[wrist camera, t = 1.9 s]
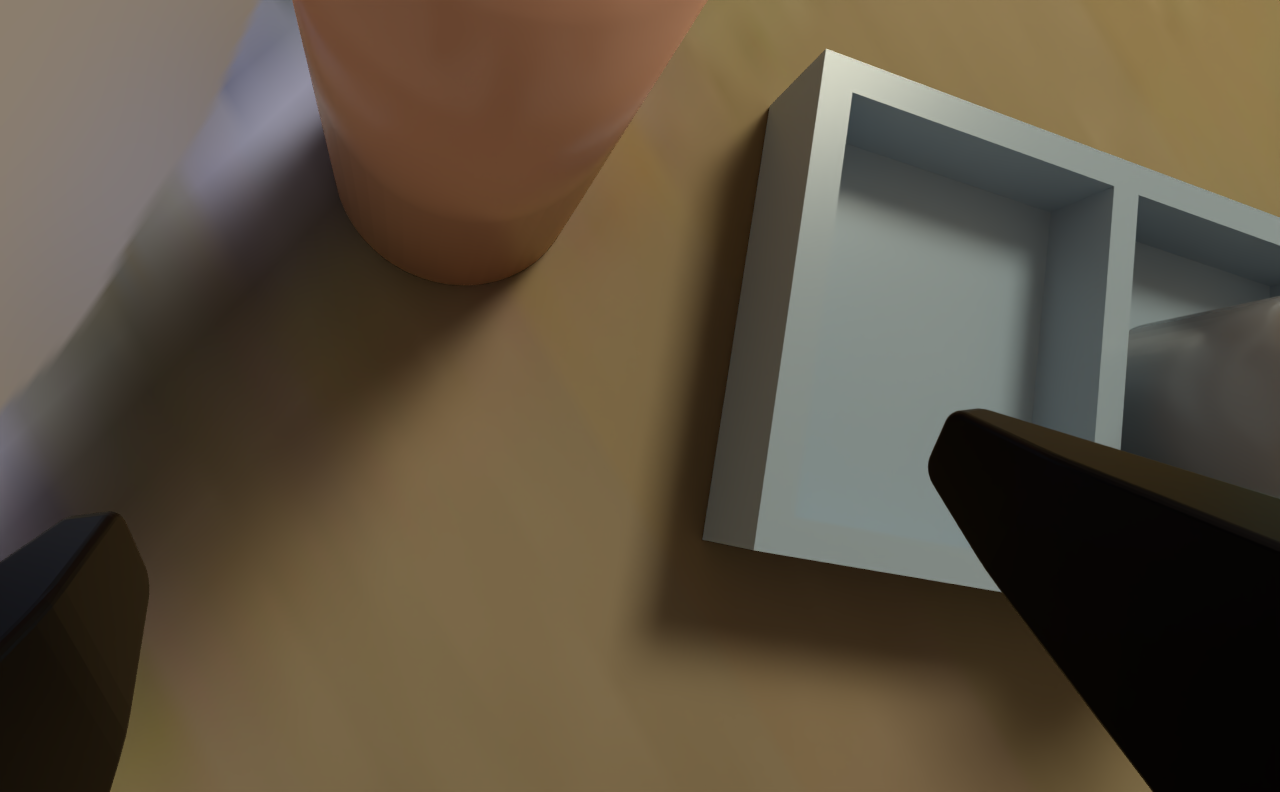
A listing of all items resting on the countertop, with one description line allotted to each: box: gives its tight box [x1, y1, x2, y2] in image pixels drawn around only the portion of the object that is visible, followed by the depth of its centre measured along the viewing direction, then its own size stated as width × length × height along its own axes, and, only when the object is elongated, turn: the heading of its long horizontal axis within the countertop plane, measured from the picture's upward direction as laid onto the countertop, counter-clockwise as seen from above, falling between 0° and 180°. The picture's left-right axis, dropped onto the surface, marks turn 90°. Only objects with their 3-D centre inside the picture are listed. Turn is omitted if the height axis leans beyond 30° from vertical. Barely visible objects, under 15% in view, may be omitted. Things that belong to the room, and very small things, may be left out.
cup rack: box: [702, 49, 1280, 592], centre depth 25 cm, size 14×22×4 cm, turn 79°
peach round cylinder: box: [293, 0, 707, 286], centre depth 15 cm, size 7×7×13 cm
